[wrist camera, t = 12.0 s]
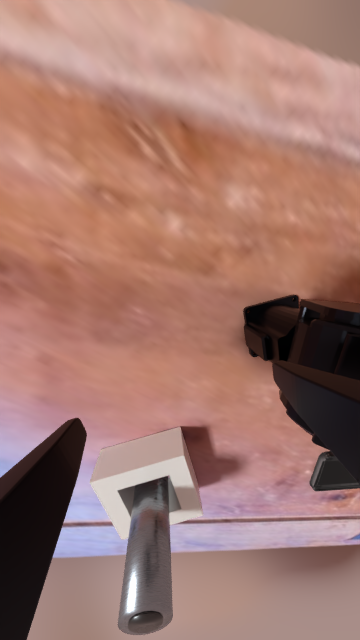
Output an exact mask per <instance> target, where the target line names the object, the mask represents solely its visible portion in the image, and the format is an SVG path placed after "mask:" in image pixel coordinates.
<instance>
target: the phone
mask: <svg viewBox="0 0 360 640" xmlns="http://www.w3.org/2000/svg"><path fill="white" fill-rule="evenodd" d="M310 485H311V487H312V488H313V490H314V491H328V490H342V489H357V488H360V484H359V483H358V482H357V481H356V480H355V478H354V477H353V476H352V475H351V474H350V473H349V472H348V470H347V469H346V468H345V467H344V466H343V465H342V464H341V462H340V461H339V460H338V459H337V458H336V457H335V456H334V454H333V453H332V452H331V451H329V452H324V453H322V454H321V455H320V456H319V458H318V461H317V463H316V466H315V469H314V472H313V474H312V477H311V480H310Z"/></svg>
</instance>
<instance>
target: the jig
mask: <svg viewBox="0 0 360 640" xmlns="http://www.w3.org/2000/svg"><path fill="white" fill-rule="evenodd" d="M168 475H169V476H170V478H168V487H169V518H170V525H173V524H176V523H179V522H182V521H186V520H189V519H192V518H196V517H199V516H202V515H203V511H202V505H201V499H200V493H199V488H198V482H197V478H196V475H195V472H194V469H193V466H192V462H191V459H190V456H189V453H188V449H187V446H186V443H185V440H184V437H183V433H182V430H181V427H177V428H173V429H170V430H166V431H163V432H159V433H156V434H152V435H149V436H145V437H142V438H138V439H135V440H131V441H128V442H124V443H121V444H117V445H114V446H110V447H107V448H103V449H101V451H100V453H99V456H98V459H97V462H96V465H95V468H94V471H93V474H92V477H91V480H90V484H91V486H92V488H93V490H94V491H95V493H96V495H97V497H98V498H99V500H100V502H101V504H102V506H103V507H104V509H105V511H106V513H107V514H108V516H109V518H110V520H111V522H112V523H113V525H114V527H115V529H116V531H117V532H118V534H119V536H120V538H121V539H122V540H123V539H126V538H129V530H130V521H131V513H132V505H133V497H134V489H135V485H137V484H141V483H144V482H148V481H151V480H154V479H158V478H161V477H165V476H168Z"/></svg>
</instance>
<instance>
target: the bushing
mask: <svg viewBox="0 0 360 640" xmlns="http://www.w3.org/2000/svg"><path fill="white" fill-rule="evenodd" d="M171 580H172V579H171V549H170V518H169V487H168V476H165V477H161V478H158V479H154V480H151V481H148V482H144V483H141V484H137V485H135V489H134V497H133V505H132V513H131V521H130V530H129V538H128V546H127V554H126V562H125V570H124V578H123V586H122V595H121V602H120V611H119V618H118V627H119V629H120V630H121V631H122V632H124V633H127V634H131V635H143V634H149V633H153V632H156V631H158V630H160V629H162V628H164V627H165V626H167V625H168V624H169V623H170V622H171V620H172V617H173V610H172V581H171Z"/></svg>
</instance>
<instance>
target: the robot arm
mask: <svg viewBox="0 0 360 640" xmlns="http://www.w3.org/2000/svg"><path fill="white" fill-rule="evenodd" d="M293 298H294V300H293V301H292V299H293ZM300 305H301V307H300V309H299V304H298V297H297V296H296V295H289V296H286V297H282V298H278V299H274V300H271V301H267V302H263V303H259V304H256V305H252V306H248V307H246V308H244V311H243V312H244V319H245V326H244V332H245V339H246V345H247V346H248V347H249V353H250V355H251V356H252V357H257V356H260V357H261V358H262V359H263V360H265V361H270V362H272V363H273V364H272V368H273V377H274V381H275V383H276V384H277V386H278V387H279V388H280V391H279V394H280V400H281V401H282V403H283V404H284V406H285V408H286V409H287V410H286V413H287V415H288V416H289V417H290V418H291V419H292V420H293V421H294V422H295V423H296V424H297V425H299V426H300V427H301V428H303V429H304V430H305V431H306V432H308V433H309V434H311V435H312V436H313V437H312V441H313V443H315V444H317V445H319V446H321V447H324V448H326V449H328V450H330V451H331V452H332V453H333V454H334V456H335V457H336V458H337V459H338V460H339V461H340V462H341V464H342V465H343V466H344V467H345V468H346V469H347V470H348V472H349V473H350V474H351V475H352V476H353V477H354V478H355V480H356V481H357V482H358V483H359V484H360V304H357V303H350V302H337V301H323V300H309V299H301V301H300ZM247 310H250V311H249V313H247ZM253 352H255V353H254V354H253ZM86 437H87V433H86V430H85V428H84V426H83V424H82V422H81V420H80V419H79V418H74V419H70V420H68V421H67V422H65V423H64V424H63V425H62V426H61V427H59V428H58V429H57V430H56V431H55V432H54V433H52V434H51V435H50V436H49V437H48V438H47V439H45V440H44V441H43V442H42V443H41V444H39V445H38V446H37V447H36V448H35V449H34V450H32V451H31V452H30V453H29V454H28V455H27V456H25V457H24V458H23V459H22V460H21V461H20V462H18V463H17V464H16V465H15V466H14V467H12V468H11V469H10V470H9V471H8V472H7V473H5V474H4V475H3V476H2V477H1V478H0V640H27V637H28V633H29V630H30V627H31V623H32V621H33V618H34V614H35V611H36V608H37V605H38V601H39V598H40V595H41V592H42V589H43V586H44V582H45V579H46V576H47V573H48V570H49V567H50V563H51V560H52V557H53V554H54V551H55V548H56V544H57V541H58V538H59V535H60V532H61V528H62V525H63V522H64V519H65V516H66V513H67V509H68V506H69V503H70V500H71V497H72V493H73V490H74V487H75V484H76V480H77V477H78V473H79V469H80V464H81V460H82V455H83V451H84V446H85V442H86Z"/></svg>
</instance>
